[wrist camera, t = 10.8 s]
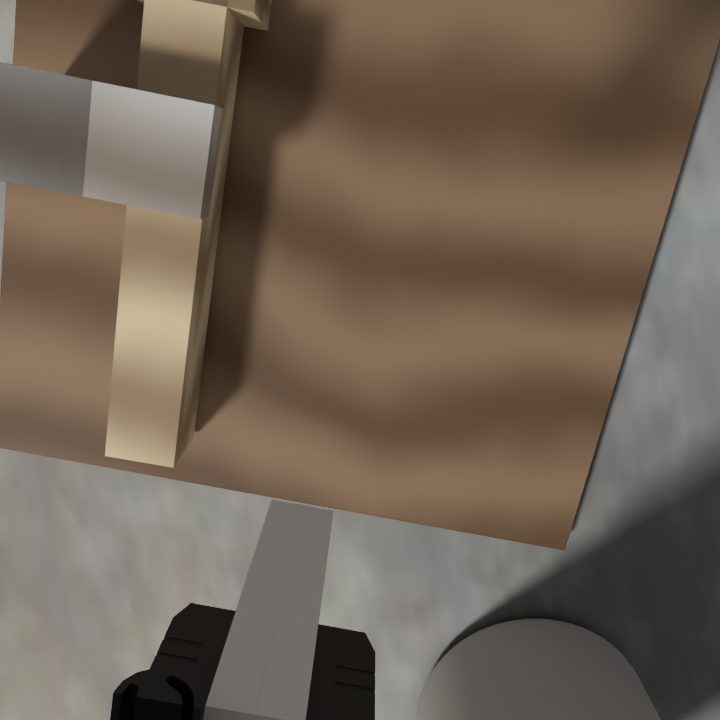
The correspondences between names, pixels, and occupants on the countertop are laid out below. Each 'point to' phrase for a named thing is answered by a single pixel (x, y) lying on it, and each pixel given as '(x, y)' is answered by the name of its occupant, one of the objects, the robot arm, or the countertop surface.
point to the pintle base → (358, 242)
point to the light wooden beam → (173, 238)
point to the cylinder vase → (534, 677)
